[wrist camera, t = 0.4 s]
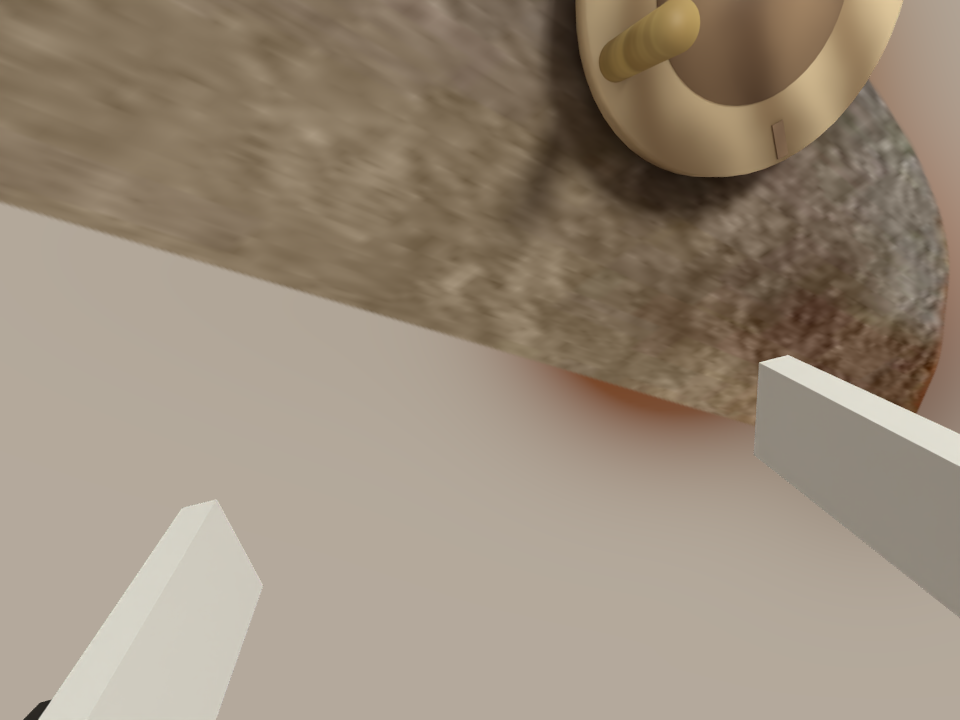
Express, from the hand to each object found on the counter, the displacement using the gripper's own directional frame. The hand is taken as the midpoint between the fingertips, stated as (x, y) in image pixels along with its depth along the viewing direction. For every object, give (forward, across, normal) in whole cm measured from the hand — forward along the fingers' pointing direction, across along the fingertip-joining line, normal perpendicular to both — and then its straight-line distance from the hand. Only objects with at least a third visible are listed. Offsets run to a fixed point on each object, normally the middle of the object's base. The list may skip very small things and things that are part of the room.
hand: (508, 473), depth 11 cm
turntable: (+25, +23, +14) cm, 37 cm away
